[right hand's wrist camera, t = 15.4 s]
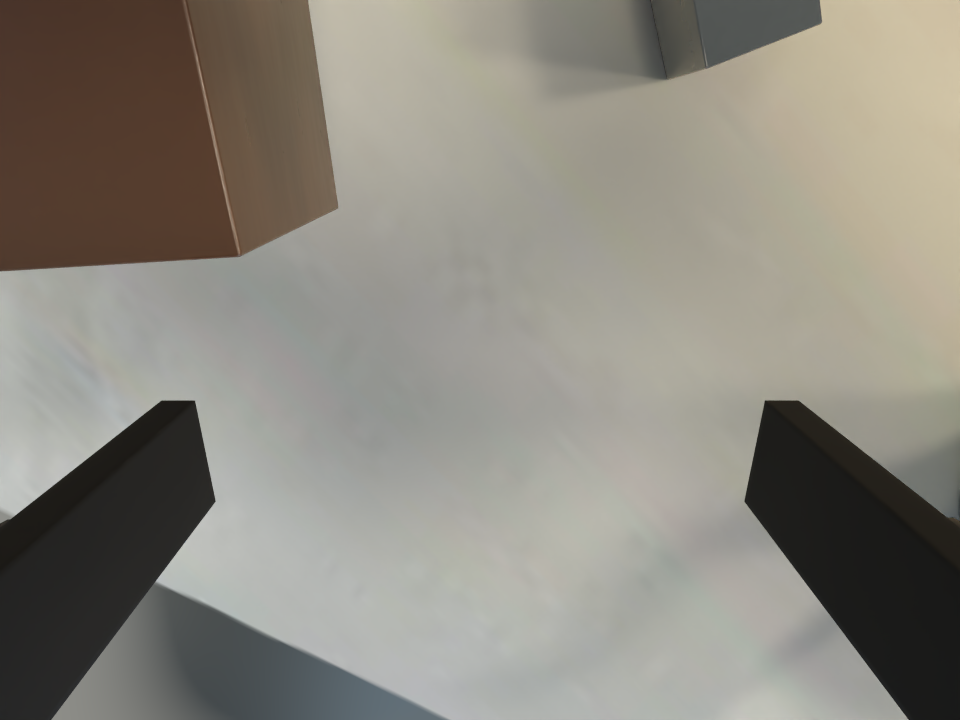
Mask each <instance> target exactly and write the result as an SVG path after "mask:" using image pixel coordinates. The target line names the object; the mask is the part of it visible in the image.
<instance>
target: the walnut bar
mask: <svg viewBox="0 0 960 720" xmlns="http://www.w3.org/2000/svg"><path fill="white" fill-rule="evenodd" d="M337 208H338V202H337V195H336V188H335V182H334V175H333V168H332V161H331V154H330V148H329V141H328V134H327V127H326V120H325V114H324V107H323V100H322V93H321V86H320V80H319V73H318V66H317V59H316V52H315V46H314V39H313V32H312V25H311V18H310V12H309V5H308V0H0V271H15V270H31V269H48V268H64V267H81V266H97V265H114V264H130V263H147V262H163V261H179V260H196V259H212V258H229V257H240V256H242V255H244V254H246V253H248V252H250V251H252V250H254V249H256V248H258V247H260V246H262V245H264V244H266V243H268V242H270V241H272V240H274V239H276V238H279V237H281V236H283V235H285V234H287V233H289V232H291V231H293V230H295V229H297V228H299V227H301V226H303V225H305V224H307V223H309V222H311V221H313V220H315V219H317V218H319V217H321V216H323V215H325V214H327V213H329V212H331V211H333V210H335V209H337Z"/></svg>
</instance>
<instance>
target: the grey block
mask: <svg viewBox="0 0 960 720" xmlns="http://www.w3.org/2000/svg"><path fill="white" fill-rule="evenodd" d="M651 5H652V10H653V14H654V19H655V24H656V29H657V33H658V38H659V43H660V48H661V52H662V57H663V62H664V66H665V71H666V76H667V79H668V80H670V79H674V78H677V77H680V76H684V75H687V74H691V73H694V72H697V71H701V70H704V69H707V68H710V67H712V66H715V65H718V64H720V63H723V62H725V61H728V60H730V59H733V58H735V57H738V56H741V55H743V54H746V53H748V52H751V51H753V50H756V49H758V48H761V47H763V46H766V45H769V44H771V43H774V42H776V41H779V40H781V39H784V38H786V37H789V36H792V35H794V34H797V33H799V32H802V31H804V30H807V29H809V28H812V27H815V26H817V25H820V24H821V23H822V18H821V9H820V0H651Z"/></svg>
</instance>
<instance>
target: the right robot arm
mask: <svg viewBox="0 0 960 720" xmlns="http://www.w3.org/2000/svg"><path fill="white" fill-rule="evenodd" d="M215 502H216V501H215V496H214V491H213V487H212V482H211V477H210V472H209V467H208V462H207V457H206V452H205V448H204V443H203V438H202V433H201V428H200V423H199V418H198V413H197V409H196V404H195V401H160V402H159V403H158V404H157V405H155V406H154V407H153V408H152V409H150V410H149V411H148V412H146V413H145V414H144V415H143V416H141V417H140V418H139V419H138V420H136V421H135V422H134V423H133V424H131V425H130V426H129V427H127V428H126V429H125V430H124V431H122V432H121V433H120V434H119V435H117V436H116V437H115V438H113V439H112V440H111V441H110V442H108V443H107V444H106V445H105V446H103V447H102V448H101V449H99V450H98V451H97V452H96V453H94V454H93V455H92V456H91V457H89V458H88V459H87V460H85V461H84V462H83V463H82V464H80V465H79V466H78V467H77V468H75V469H74V470H73V471H71V472H70V473H69V474H68V475H66V476H65V477H64V478H63V479H61V480H60V481H59V482H57V483H56V484H55V485H54V486H52V487H51V488H50V489H49V490H47V491H46V492H45V493H43V494H42V495H41V496H40V497H38V498H37V499H36V500H35V501H33V502H32V503H31V504H30V505H28V506H27V507H26V508H24V509H23V510H22V511H21V512H19V513H18V514H17V515H16V516H14V517H13V518H12V519H10V520H6V521H4V522H2V523H0V720H51V719H52V718H53V717H54V715H55V714H56V713H57V711H58V710H59V709H60V707H61V706H62V705H63V703H64V702H65V701H66V699H67V698H68V697H69V695H70V694H71V693H72V691H73V690H74V689H75V687H76V686H77V685H78V683H79V682H80V681H81V679H82V678H83V677H84V675H85V674H86V673H87V671H88V670H89V669H90V668H91V666H92V665H93V664H94V662H95V661H96V660H97V658H98V657H99V656H100V654H101V653H102V652H103V650H104V649H105V648H106V646H107V645H108V644H109V642H110V641H111V640H112V638H113V637H114V636H115V634H116V633H117V632H118V630H119V629H120V628H121V626H122V625H123V624H124V622H125V621H126V620H127V618H128V617H129V616H130V614H131V613H132V612H133V610H134V609H135V608H136V606H137V605H138V604H139V602H140V601H141V600H142V598H143V597H144V596H145V594H146V593H147V592H148V590H149V589H150V588H151V587H152V585H153V584H154V583H155V581H156V580H157V579H158V577H159V576H160V575H161V573H162V572H163V571H164V569H165V568H166V567H167V565H168V564H169V563H170V561H171V560H172V559H173V557H174V556H175V555H176V553H177V552H178V551H179V549H180V548H181V547H182V545H183V544H184V543H185V541H186V540H187V539H188V537H189V536H190V535H191V533H192V532H193V531H194V529H195V528H196V527H197V525H198V524H199V523H200V521H201V520H202V519H203V517H204V516H205V515H206V513H207V512H208V511H209V509H210V508H211V507H212V505H213V504H214V503H215ZM744 502H745V503H746V504H747V505H748V507H749V508H750V509H751V511H752V512H753V513H754V515H755V516H756V517H757V519H758V520H759V521H760V523H761V524H762V525H763V527H764V528H765V529H766V531H767V532H768V533H769V535H770V536H771V537H772V539H773V540H774V541H775V543H776V544H777V545H778V547H779V548H780V549H781V551H782V552H783V553H784V555H785V556H786V557H787V559H788V560H789V561H790V563H791V564H792V565H793V567H794V568H795V569H796V571H797V572H798V573H799V575H800V576H801V577H802V579H803V580H804V581H805V583H806V584H807V585H808V587H809V588H810V589H811V590H812V592H813V593H814V594H815V596H816V597H817V598H818V600H819V601H820V602H821V604H822V605H823V606H824V608H825V609H826V610H827V612H828V613H829V614H830V616H831V617H832V618H833V620H834V621H835V622H836V624H837V625H838V626H839V628H840V629H841V630H842V632H843V633H844V634H845V636H846V637H847V638H848V640H849V641H850V642H851V644H852V645H853V646H854V648H855V649H856V650H857V652H858V653H859V654H860V656H861V657H862V658H863V660H864V661H865V662H866V664H867V665H868V666H869V668H870V669H871V670H872V671H873V673H874V674H875V675H876V677H877V678H878V679H879V681H880V682H881V683H882V685H883V686H884V687H885V689H886V690H887V691H888V693H889V694H890V695H891V697H892V698H893V699H894V701H895V702H896V703H897V705H898V706H899V707H900V709H901V710H902V711H903V713H904V714H905V715H906V717H907V718H908V719H909V720H960V521H958V520H957V519H955V518H947V517H946V516H944V515H943V514H942V513H941V512H939V511H938V510H937V509H936V508H934V507H933V506H932V505H930V504H929V503H928V502H927V501H925V500H924V499H923V498H922V497H920V496H919V495H918V494H917V493H915V492H914V491H913V490H911V489H910V488H909V487H908V486H906V485H905V484H904V483H903V482H901V481H900V480H899V479H897V478H896V477H895V476H894V475H892V474H891V473H890V472H889V471H887V470H886V469H885V468H883V467H882V466H881V465H880V464H878V463H877V462H876V461H875V460H873V459H872V458H871V457H869V456H868V455H867V454H866V453H864V452H863V451H862V450H861V449H859V448H858V447H857V446H855V445H854V444H853V443H852V442H850V441H849V440H848V439H847V438H845V437H844V436H843V435H841V434H840V433H839V432H838V431H836V430H835V429H834V428H833V427H831V426H830V425H829V424H827V423H826V422H825V421H824V420H822V419H821V418H820V417H819V416H817V415H816V414H815V413H814V412H812V411H811V410H810V409H808V408H807V407H806V406H805V405H803V404H802V403H801V402H800V401H765V404H764V409H763V413H762V418H761V423H760V428H759V433H758V438H757V443H756V448H755V452H754V457H753V462H752V467H751V472H750V477H749V482H748V487H747V491H746V496H745V501H744Z"/></svg>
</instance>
